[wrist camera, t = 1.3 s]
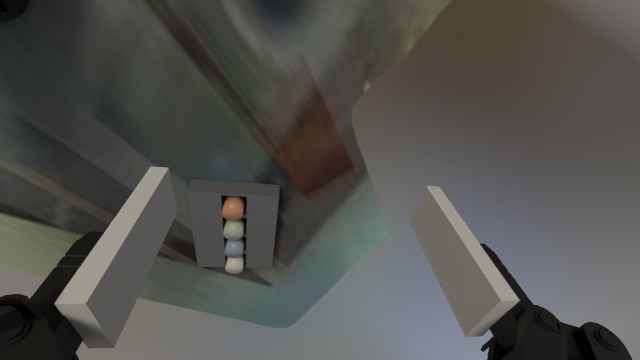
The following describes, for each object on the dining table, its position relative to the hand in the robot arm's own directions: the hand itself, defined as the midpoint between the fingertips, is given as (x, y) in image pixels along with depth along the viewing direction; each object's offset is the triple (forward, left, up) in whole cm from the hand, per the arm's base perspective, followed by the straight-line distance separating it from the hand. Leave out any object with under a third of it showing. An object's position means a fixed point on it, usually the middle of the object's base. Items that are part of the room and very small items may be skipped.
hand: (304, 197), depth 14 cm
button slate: (-9, -43, -34) cm, 55 cm away
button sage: (-9, -37, -34) cm, 51 cm away
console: (-9, -40, -37) cm, 55 cm away
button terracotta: (-9, -31, -34) cm, 46 cm away
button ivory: (-9, -49, -34) cm, 60 cm away
